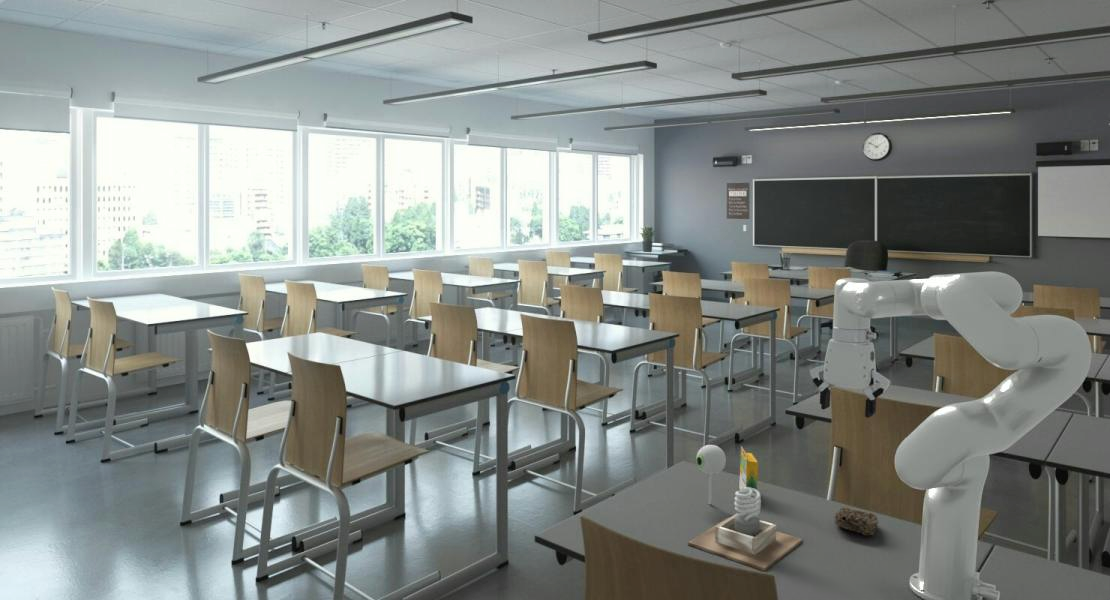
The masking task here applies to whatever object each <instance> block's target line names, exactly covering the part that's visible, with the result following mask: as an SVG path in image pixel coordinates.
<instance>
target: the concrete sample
mask: <svg viewBox="0 0 1110 600" xmlns="http://www.w3.org/2000/svg"><path fill="white" fill-rule="evenodd" d="M834 518H835V519H834V523H835V525H836V526H838V527H841V528H842V529H844V530H847V531H854V532H856V533H858V534H860V533H861V535H863V536H870V535H871V536H873V535H874V534H875V533H876V532H877V528H878V524H879V520H878V517H877V515H876V514H874V513H872V512H868V511H862V510H860V509H859V510H858V509H851V508H849V507H841V508H839V510H837V512H835V517H834Z"/></svg>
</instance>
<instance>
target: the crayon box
mask: <svg viewBox="0 0 1110 600" xmlns="http://www.w3.org/2000/svg"><path fill="white" fill-rule="evenodd" d="M739 464H740V465H739V466H740V467H739V468H740V469H739V484H738V485H739V486H738V487H739V489H738V490H739V491H744V490H743V488H744V487H750V488H754V489H756V490H757V491H758V489H757V488H758V476H759V475H758V472H759V470H758V469H759V462H758V460H757V459H756V458H755V456H754V454H753V453H752V452H746V451H745V449H744V448H743V446H741V445H740V463H739ZM753 493H755V492H753ZM755 494H756V493H755ZM756 495H757V494H756ZM751 497H753V496H751ZM753 498H755V497H753Z"/></svg>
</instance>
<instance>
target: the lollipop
mask: <svg viewBox="0 0 1110 600" xmlns="http://www.w3.org/2000/svg"><path fill="white" fill-rule="evenodd" d="M726 457H727V456H726V454H725V452H724V451H723V449H722V448H721V447H719V446H718V445H715V444H707V445H704V446H702V447H700V449H699V450H698V451H697V454H696V458H695V461H696V464H697V467H698V468H699V470H701V472H703V473H704V474H707V475H709V476H708V478H709V479H708V505H712V497H713V496H712V495H713V494H712V492H713V491H712V490H713V485H712V484H713V475H717V474H718V473H721V472H722V471H723V469H724V468H725V467H726V464H727V463H726V462H727V458H726Z"/></svg>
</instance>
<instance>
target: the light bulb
mask: <svg viewBox="0 0 1110 600" xmlns="http://www.w3.org/2000/svg"><path fill="white" fill-rule="evenodd" d="M743 490H744V491H740V490H737V491H735V497H734V500H735V501H734V503H733V504H734V506H735V507H734V510H735V511H736V512H737V513H738V514H737V515H736V516H735V530H736V531H737V532H739V533H743V534H746V535H749V536H752V537H753V535H754V534H756V533H758V531H759V525H760V517H759V516H758V515H759V514H760V513H761V512H760V511H761V508H762V504H761V503H762V499H761V493H760V491H758V489H757V490H756V489H754V488H750V487H744V488H743ZM753 492H755V493H756V494H757V495H756V494H755V493H753ZM751 496H753V497H755V498H753V497H751Z"/></svg>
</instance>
